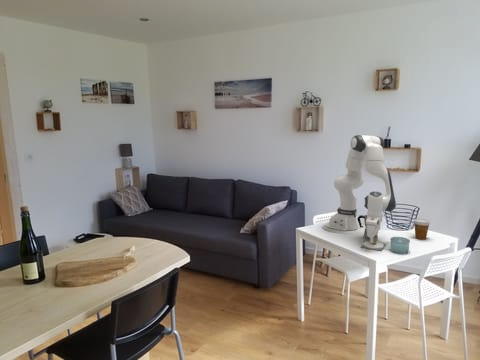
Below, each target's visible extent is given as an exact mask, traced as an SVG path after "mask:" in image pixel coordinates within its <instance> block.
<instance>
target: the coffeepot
mask: <svg viewBox="0 0 480 360" xmlns="http://www.w3.org/2000/svg"><path fill="white" fill-rule="evenodd" d="M361 219H363V220H364V221H363V222H364V225H362V223H361V221H362V220H361ZM356 220H357V223H358V225H359V227H360V228H364V226H365V229H364V232H363V239H364V240H365V241H370V237H368V236H367V224H366V220H367V214H365V215H363V214H362V215H358V216H357V217H356ZM378 238H379V237H378V234H377V238H376V241H377V240H378Z"/></svg>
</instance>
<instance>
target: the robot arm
mask: <svg viewBox="0 0 480 360" xmlns="http://www.w3.org/2000/svg"><path fill="white" fill-rule="evenodd" d="M384 148H385V140H384V138H383V137H381V136H374V135H371V134H370V135H369V134H367V135H366V134H365V135H363V134H362V135H361V134H356V135H353V137H352V138H351V140H350V149H349V151H348V155H347V158H346V161H345V167H346V169H347V172H346V174H345V175H340V176H338V177H336V178H335V179H334V180H333V182H334V183H333V186H334V188H335V190H336V191H338V194H339V200H340V205H339V207H338V208H337V210H336V211H337V212H336V213H335V214H333V215H332V216H330V218H329V221H328V222H326V224H325V227H326V228H329V229H330V228H331V229H334V230H339V231H343V232H345V231H354V230H357V229H358V228H359V226H358V220H357V217H358V215H357V214H358V211H357V209H358V208H357V197H356V196H355V195H354V192H353V190H357V189H358V188H360V187H362V186H363V185H364V182H365V180H364V178H363V176H362V168H363V165H365V170H366V172H367V173H368V174H370V175H371V176H374V177H375V178H379V179H381V180H382V181H383V182H384V187H385V192H386V193H385V194H383V193H381V192H380V191H371V192H369V193H368V194H367V195H366V196H365V197H364V208H365V209H367V212H366V215H367V220H366V224H367V236H368V237H370V240H369V241H370V243H373V242H374V239H373V238H374V237H376V238H377V235H378V233H379V231H380V229H381V223H383V215H384V214H383V211H384V212H393V210H395V209H396V207H397V201H396V197H395V193H394V187H393V181H392V176H391V172H390V170H389V169H388V168H387V167H386V166H385V154H384ZM364 162H365V164H364Z"/></svg>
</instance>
